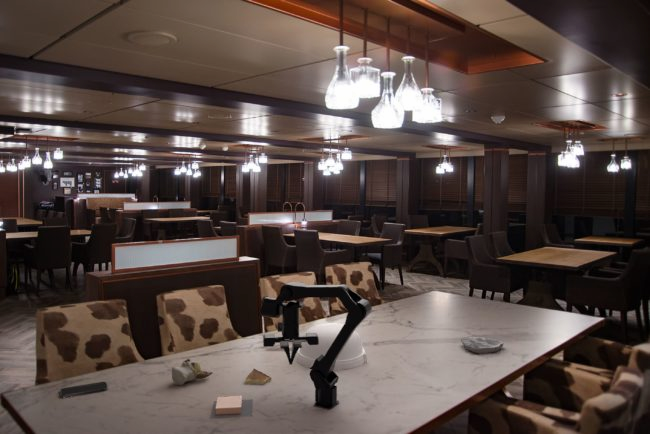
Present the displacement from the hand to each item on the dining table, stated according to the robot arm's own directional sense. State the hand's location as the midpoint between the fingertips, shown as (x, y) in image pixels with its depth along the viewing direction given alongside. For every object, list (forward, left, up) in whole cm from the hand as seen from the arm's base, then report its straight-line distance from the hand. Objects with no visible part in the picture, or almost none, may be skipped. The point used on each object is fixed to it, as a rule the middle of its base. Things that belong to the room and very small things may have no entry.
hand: (290, 364), depth 172 cm
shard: (+22, -8, -13) cm, 26 cm away
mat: (+12, +17, -12) cm, 24 cm away
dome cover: (+8, -45, -12) cm, 47 cm away
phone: (+68, +31, -13) cm, 76 cm away
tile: (+9, +15, -10) cm, 21 cm away
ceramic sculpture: (+42, +5, -12) cm, 44 cm away
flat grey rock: (-44, -91, -12) cm, 102 cm away
